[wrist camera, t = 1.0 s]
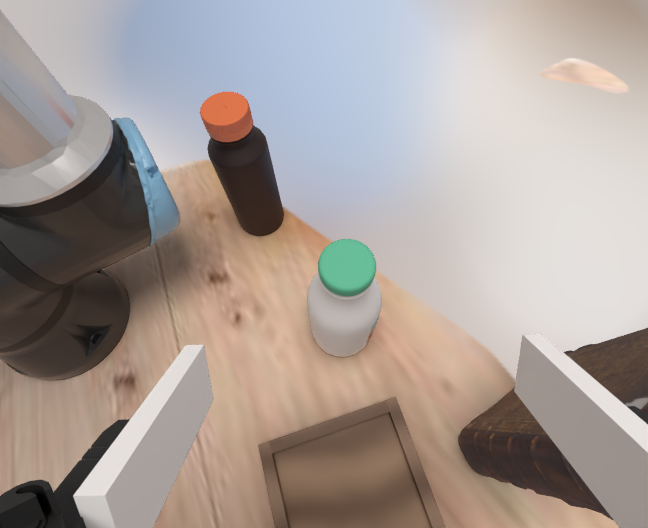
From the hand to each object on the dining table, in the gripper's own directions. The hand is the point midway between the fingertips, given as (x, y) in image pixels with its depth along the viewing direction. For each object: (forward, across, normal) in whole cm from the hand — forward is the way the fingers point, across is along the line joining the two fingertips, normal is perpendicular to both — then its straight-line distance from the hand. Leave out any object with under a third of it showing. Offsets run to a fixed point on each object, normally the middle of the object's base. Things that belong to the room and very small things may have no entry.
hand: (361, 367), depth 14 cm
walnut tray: (+15, 0, -27) cm, 31 cm away
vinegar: (+40, -12, 0) cm, 41 cm away
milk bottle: (+28, 0, -13) cm, 31 cm away
